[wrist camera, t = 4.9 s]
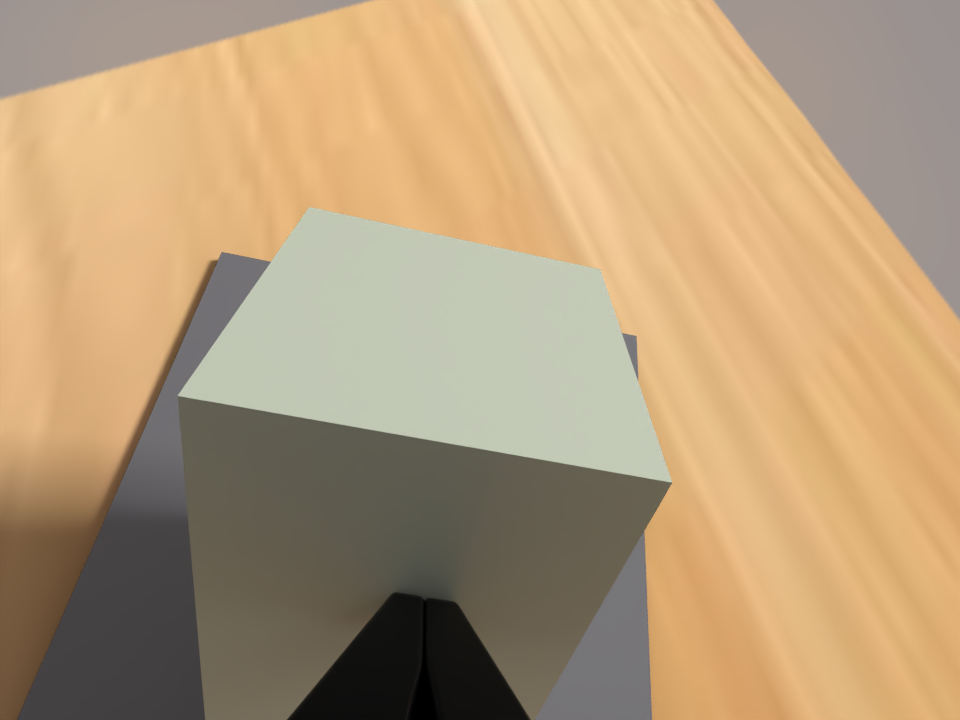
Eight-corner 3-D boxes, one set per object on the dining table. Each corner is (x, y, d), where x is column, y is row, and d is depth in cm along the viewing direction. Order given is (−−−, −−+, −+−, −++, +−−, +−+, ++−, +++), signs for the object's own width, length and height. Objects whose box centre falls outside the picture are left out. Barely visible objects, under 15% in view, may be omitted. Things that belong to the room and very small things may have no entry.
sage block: (495, 788, 11) (672, 483, 6) (208, 756, 10) (177, 395, 6) (493, 554, 15) (600, 269, 10) (289, 523, 14) (309, 207, 10)
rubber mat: (652, 913, 12) (659, 918, 12) (-34, 852, 11) (-43, 855, 10) (632, 340, 19) (636, 336, 19) (223, 258, 18) (221, 251, 18)
